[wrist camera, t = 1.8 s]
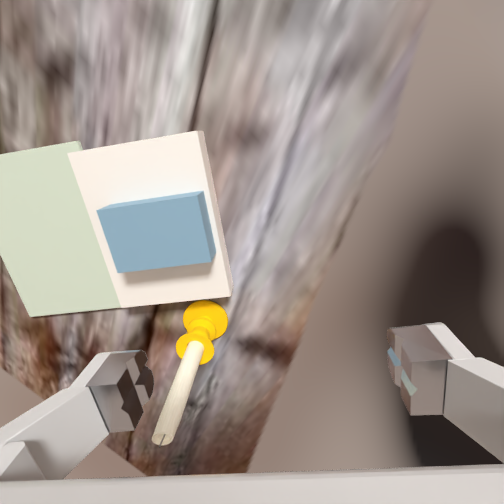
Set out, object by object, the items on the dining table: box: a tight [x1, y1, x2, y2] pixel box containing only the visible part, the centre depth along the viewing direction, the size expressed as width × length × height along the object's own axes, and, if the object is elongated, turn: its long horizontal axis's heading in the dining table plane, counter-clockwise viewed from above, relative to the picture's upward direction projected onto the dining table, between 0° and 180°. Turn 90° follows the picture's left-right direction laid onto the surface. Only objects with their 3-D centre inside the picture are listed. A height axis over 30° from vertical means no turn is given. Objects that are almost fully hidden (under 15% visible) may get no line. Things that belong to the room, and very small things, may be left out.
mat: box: [0, 141, 121, 317], centre depth 32 cm, size 18×13×1 cm
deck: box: [67, 131, 234, 308], centre depth 30 cm, size 16×12×2 cm
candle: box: [152, 300, 228, 448], centre depth 28 cm, size 5×5×16 cm
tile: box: [96, 191, 216, 273], centre depth 28 cm, size 6×9×2 cm, turn 99°
